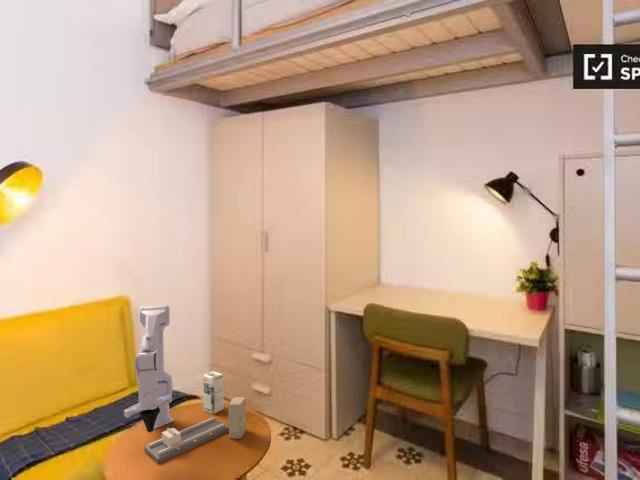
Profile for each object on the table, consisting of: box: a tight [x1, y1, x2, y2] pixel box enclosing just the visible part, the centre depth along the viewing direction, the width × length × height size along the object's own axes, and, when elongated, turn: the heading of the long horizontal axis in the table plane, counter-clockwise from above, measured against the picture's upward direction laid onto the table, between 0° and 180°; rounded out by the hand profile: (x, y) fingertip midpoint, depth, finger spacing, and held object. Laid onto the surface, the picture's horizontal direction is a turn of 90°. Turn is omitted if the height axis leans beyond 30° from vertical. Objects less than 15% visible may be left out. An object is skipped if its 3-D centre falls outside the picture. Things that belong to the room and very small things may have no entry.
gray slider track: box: [143, 416, 229, 464], centre depth 142 cm, size 10×26×2 cm, turn 136°
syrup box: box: [202, 370, 225, 415], centre depth 163 cm, size 6×6×14 cm
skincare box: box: [227, 396, 247, 439], centre depth 145 cm, size 6×4×12 cm
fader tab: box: [161, 427, 181, 447], centre depth 137 cm, size 5×4×4 cm
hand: (149, 430), depth 132 cm, fingers closed
